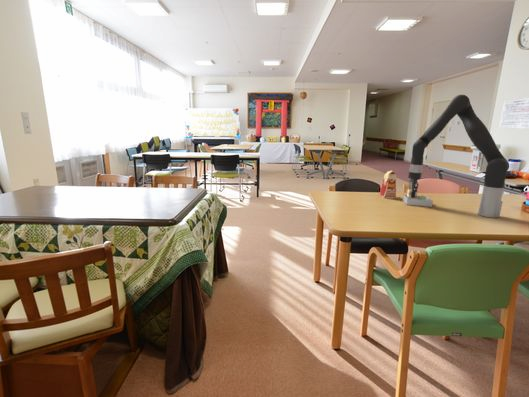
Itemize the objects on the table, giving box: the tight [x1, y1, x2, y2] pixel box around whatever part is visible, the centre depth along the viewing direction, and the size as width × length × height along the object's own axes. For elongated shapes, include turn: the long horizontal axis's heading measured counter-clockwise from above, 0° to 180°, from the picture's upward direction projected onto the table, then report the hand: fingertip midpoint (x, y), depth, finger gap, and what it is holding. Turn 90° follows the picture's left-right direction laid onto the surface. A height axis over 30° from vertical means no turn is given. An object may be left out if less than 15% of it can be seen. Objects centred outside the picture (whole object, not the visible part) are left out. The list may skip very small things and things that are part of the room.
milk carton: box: [379, 170, 397, 200], centre depth 210 cm, size 9×9×20 cm
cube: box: [406, 188, 419, 199], centre depth 195 cm, size 5×5×5 cm
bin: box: [401, 194, 434, 208], centre depth 195 cm, size 15×13×4 cm
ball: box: [418, 195, 426, 200], centre depth 194 cm, size 5×5×5 cm
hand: (411, 196), depth 196 cm, fingers closed on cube, 4 cm apart
